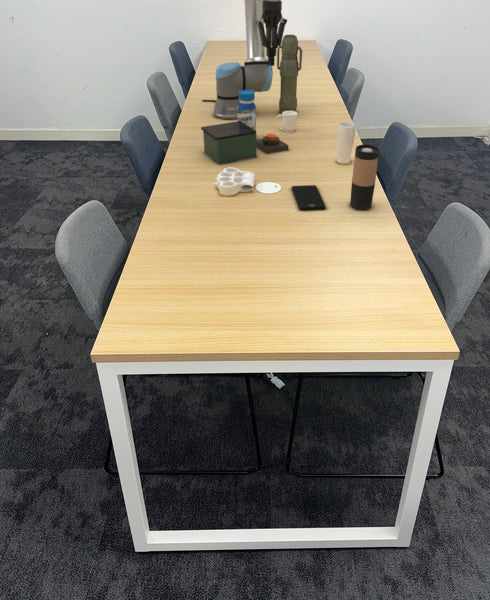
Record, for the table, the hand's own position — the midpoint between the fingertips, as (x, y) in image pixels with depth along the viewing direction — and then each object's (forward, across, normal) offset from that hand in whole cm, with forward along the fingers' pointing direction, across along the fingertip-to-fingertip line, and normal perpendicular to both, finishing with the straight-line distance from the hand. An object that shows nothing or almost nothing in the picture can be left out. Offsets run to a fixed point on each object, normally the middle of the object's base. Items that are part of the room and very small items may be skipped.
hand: (271, 64), depth 224 cm
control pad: (+30, -5, -11) cm, 33 cm away
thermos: (+31, +26, +30) cm, 51 cm away
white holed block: (+30, -36, -39) cm, 61 cm away
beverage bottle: (+31, -9, +4) cm, 32 cm away
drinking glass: (+30, +13, -38) cm, 50 cm away
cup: (+31, +12, +6) cm, 33 cm away
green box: (+30, -24, -11) cm, 40 cm away
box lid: (+20, -25, -11) cm, 34 cm away
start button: (+27, -5, -11) cm, 29 cm away
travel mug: (+30, -5, -74) cm, 80 cm away
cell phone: (+30, -18, -61) cm, 70 cm away
